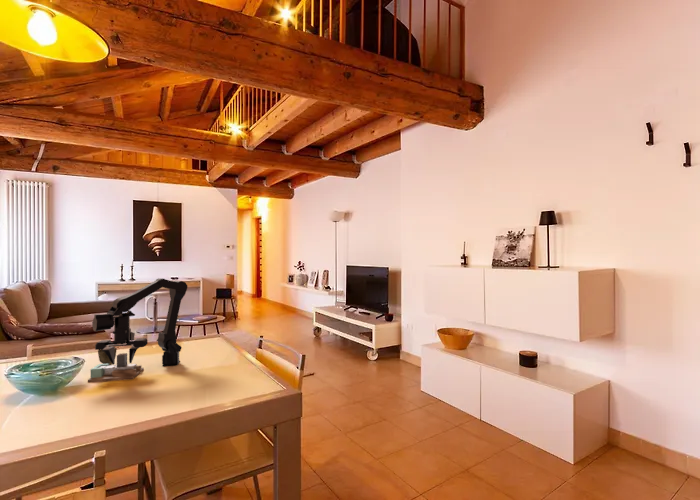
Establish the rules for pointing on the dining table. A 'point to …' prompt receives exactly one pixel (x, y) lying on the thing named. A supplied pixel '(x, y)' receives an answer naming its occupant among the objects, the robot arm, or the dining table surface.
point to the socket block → (97, 371)
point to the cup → (105, 357)
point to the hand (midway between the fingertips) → (122, 363)
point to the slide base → (119, 375)
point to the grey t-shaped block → (118, 365)
